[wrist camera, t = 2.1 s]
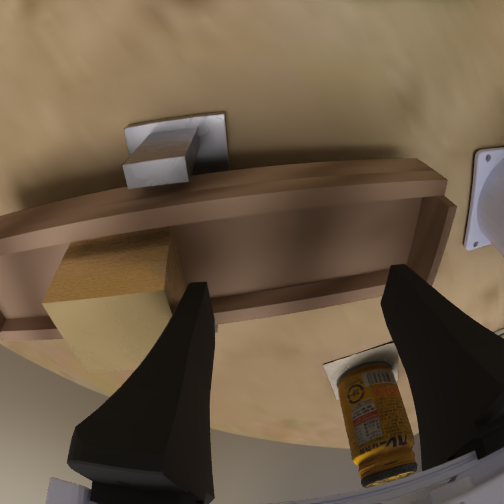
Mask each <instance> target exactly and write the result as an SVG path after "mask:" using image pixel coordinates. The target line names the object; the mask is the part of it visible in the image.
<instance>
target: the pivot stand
mask: <svg viewBox="0 0 504 504" xmlns="http://www.w3.org/2000/svg"><path fill="white" fill-rule="evenodd" d="M124 131H125V136H126V141H127V146H128V150H129V155H130V157H129V158H128V159H127V161H126V162H125V163H124V164H123V165H122V166H123V170H124V174H125V178H126V182H127V186H128V189H134V188H141V187H148V186H156V185H164V184H172V183H181V182H189V179H190V176H194V175H201V174H208V173H215V172H223V171H230V165H229V154H228V144H227V133H226V123H225V112H224V111H221V112H211V113H202V114H194V115H186V116H179V117H172V118H165V119H159V120H152V121H147V122H141V123H135V124H130V125H128V126H127V127H125V128H124ZM217 331H218V324H217V325H215V332H217Z"/></svg>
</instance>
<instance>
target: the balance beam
mask: <svg viewBox="0 0 504 504" xmlns="http://www.w3.org/2000/svg"><path fill="white" fill-rule="evenodd" d="M446 185H447V179H446V178H444V177H443V176H442V175H440V174H439V173H437V172H436V171H435V170H433V169H432V168H430V167H429V166H427V165H426V164H424V163H423V162H421V161H420V160H418V159H417V158H407V159H368V160H346V161H328V162H313V163H300V164H288V165H277V166H267V167H257V168H248V169H239V170H231V171H223V172H215V173H208V174H201V175H194V176H190V179H189V182H181V183H172V184H164V185H156V186H148V187H141V188H134V189H128V186H127V187H122V188H117V189H112V190H107V191H102V192H97V193H92V194H87V195H83V196H78V197H74V198H69V199H65V200H61V201H56V202H52V203H48V204H44V205H40V206H36V207H32V208H28V209H25V210H21V211H17V212H13V213H10V214H6V215H3V216H0V339H1V340H2V341H15V340H48V339H64V338H63V337H62V335H61V334H60V332H59V331H58V329H57V327H56V326H55V324H54V323H53V321H52V320H51V318H50V316H49V315H48V313H47V311H46V310H45V308H44V306H43V305H42V302H43V300H44V297H45V295H46V293H47V291H48V288H49V286H50V284H51V282H52V280H53V277H54V275H55V273H56V271H57V269H58V267H59V265H60V263H61V261H62V259H63V257H64V255H65V253H66V251H67V249H68V247H69V245H70V243H71V242H75V241H81V240H86V239H92V238H98V237H104V236H110V235H116V234H122V233H128V232H134V231H141V230H147V229H154V228H160V227H167V226H172V227H173V231H174V236H175V240H176V245H177V249H178V253H179V257H180V261H181V266H182V270H183V274H184V278H185V282H186V286H188V284H189V283H191V282H206V281H207V285H208V290H209V295H210V300H211V305H212V309H213V314H214V319H215V325H217V324H224V323H231V322H239V321H245V320H252V319H259V318H265V317H272V316H278V315H284V314H290V313H296V312H302V311H307V310H313V309H318V308H324V307H329V306H334V305H340V304H345V303H350V302H355V301H360V300H365V299H369V298H374V297H379V296H383V293H384V289H385V285H386V282H387V278H388V274H389V270H390V266H391V265H398V264H405V265H407V266H408V267H409V268H411V269H412V270H413V271H414V272H415V273H417V274H418V275H419V276H420V277H421V278H423V279H424V280H425V281H426V282H427V283H428V284H430V285H431V286H432V284H433V282H434V279H435V276H436V273H437V271H438V268H439V265H440V262H441V259H442V256H443V253H444V250H445V246H446V243H447V240H448V237H449V233H450V230H451V226H452V223H453V219H454V216H455V212H456V208H457V206H456V205H455V204H454V203H452V202H451V201H450V200H449V199H448V198H446V197H445V196H444V194H445V190H446Z"/></svg>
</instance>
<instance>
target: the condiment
mask: <svg viewBox="0 0 504 504" xmlns="http://www.w3.org/2000/svg"><path fill="white" fill-rule="evenodd" d="M348 366H349V367H348ZM347 367H348V368H347ZM324 368H325V371H326V373H327V376H328V378H329V381H330V383H331V385H332V388H333V391H334V393H335V396H336V398H337V400H339V399H340V403H341V407H342V413H343V417H344V421H345V426H346V432H347V435H348V438H349V445H350V450H351V456H352V460H353V462H354V463H355V464H356V465H357V466H359V474H360V476H361V484H362V485H363V487H365V488H369V487H373V486H377V485H380V484H384V483H388V482H391V481H395V480H398V479H401V478H404V477H408V476H410V475H411V474H413V473H414V472H416V470H417V464H416V461H415V458H414V457H415V454H414V452H413V451H412V448H413V445H414V437H413V433H412V430H411V426H410V423H409V420H408V417H407V414H406V411H405V407H404V404H403V401H402V398H401V395H400V392H399V389H398V386H397V383H396V381H397V380H398V351H397V349H396V347H395V344H394V343H391V344H386V345H383V346H380V347H377V348H374V349H370V350H367V351H364V352H361V353H358V354H353V355H352V356H350V357H347V358H344V359H339V360H336V361H334V362H331V363H328V364H325V365H324ZM345 369H347V370H345Z"/></svg>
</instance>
